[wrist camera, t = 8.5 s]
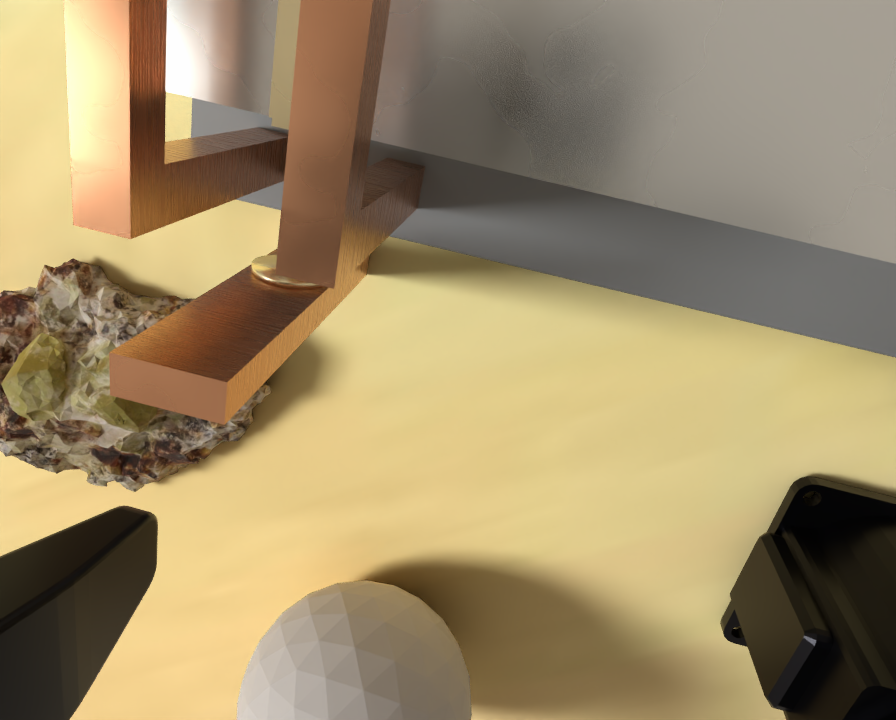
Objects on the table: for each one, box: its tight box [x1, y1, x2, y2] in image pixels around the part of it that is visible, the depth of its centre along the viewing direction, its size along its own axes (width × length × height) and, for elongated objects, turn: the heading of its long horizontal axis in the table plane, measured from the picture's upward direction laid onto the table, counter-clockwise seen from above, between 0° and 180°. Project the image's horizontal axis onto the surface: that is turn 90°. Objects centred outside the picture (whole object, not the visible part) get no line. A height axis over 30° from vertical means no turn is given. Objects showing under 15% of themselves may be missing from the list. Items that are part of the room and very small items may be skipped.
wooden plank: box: [109, 249, 369, 425], centre depth 15 cm, size 2×1×9 cm, turn 79°
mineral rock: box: [0, 259, 272, 492], centre depth 21 cm, size 11×4×8 cm
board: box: [191, 98, 896, 357], centre depth 15 cm, size 22×11×1 cm, turn 79°
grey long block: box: [166, 0, 896, 264], centre depth 13 cm, size 15×5×5 cm, turn 79°
